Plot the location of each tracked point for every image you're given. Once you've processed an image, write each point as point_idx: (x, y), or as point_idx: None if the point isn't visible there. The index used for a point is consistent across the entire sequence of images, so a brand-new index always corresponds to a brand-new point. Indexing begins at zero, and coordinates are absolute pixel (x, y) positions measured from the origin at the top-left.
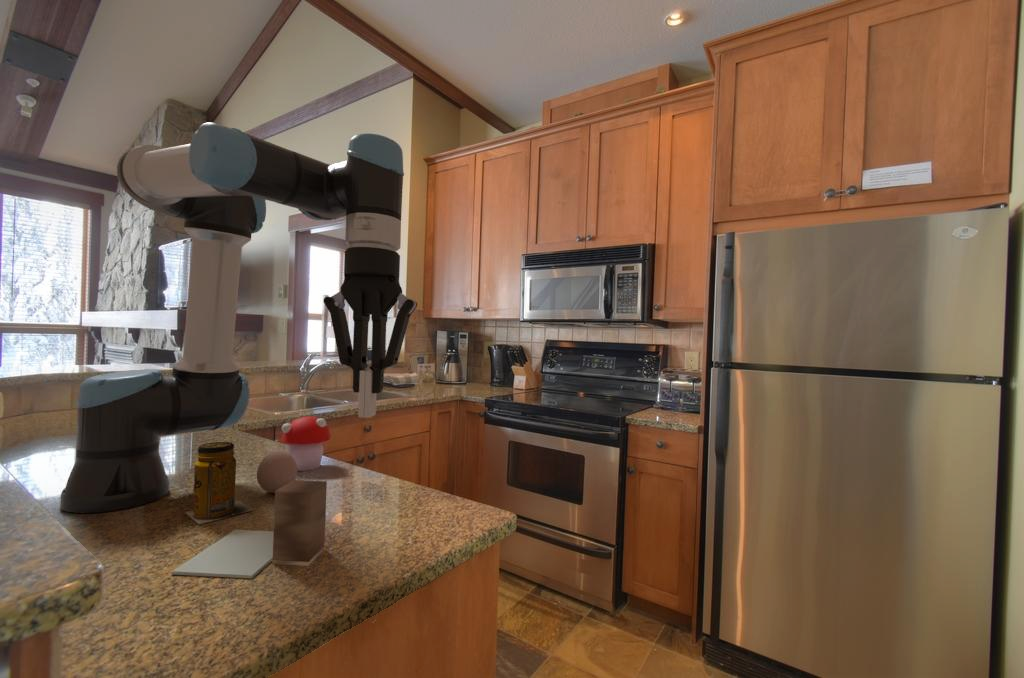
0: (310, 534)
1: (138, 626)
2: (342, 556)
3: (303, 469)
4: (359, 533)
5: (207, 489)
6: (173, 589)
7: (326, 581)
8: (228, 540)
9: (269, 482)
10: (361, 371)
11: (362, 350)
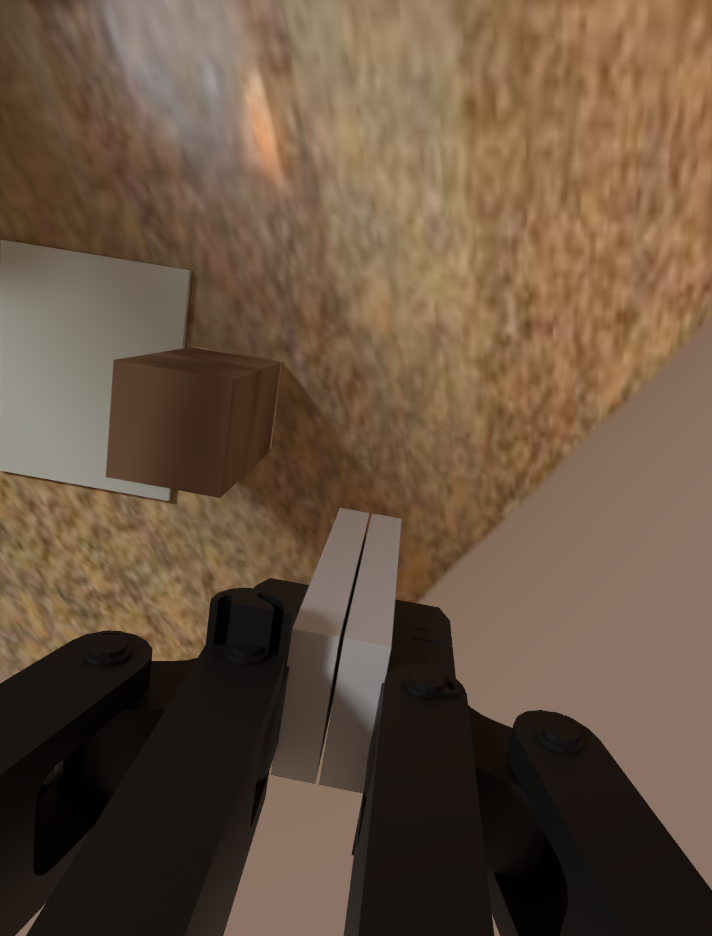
0: (254, 461)
1: (64, 637)
2: (339, 406)
3: None
4: (355, 260)
5: None
6: (42, 527)
7: (333, 522)
8: (22, 314)
9: None
10: (285, 773)
11: (231, 890)
